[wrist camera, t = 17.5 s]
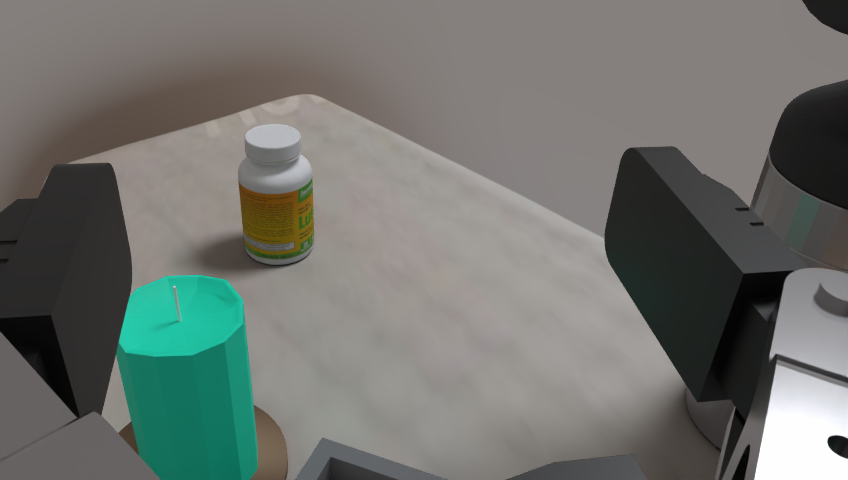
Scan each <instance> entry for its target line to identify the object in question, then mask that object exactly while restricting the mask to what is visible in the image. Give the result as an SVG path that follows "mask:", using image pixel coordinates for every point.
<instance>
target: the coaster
mask: <svg viewBox="0 0 848 480" xmlns="http://www.w3.org/2000/svg"><path fill="white" fill-rule="evenodd" d="M254 415H255V425H256V435H257V445H258V469H257V470H256V472H255V473H254V475H253V476H252V478H251V479H250V480H286V477H287V470H288V459H287V448H286V442H285V439H284V436H283V434H282V432H281V430H280V428H279V426H278V425H277V424H276V422H275V421H274V420H273V419H272V418H271V417H270V416H269V415H268V414H267V413H265V412H264V411H263V410H261V409H260V408H258V407H256V406H254ZM118 434H119V435H120V436H121V437H122V438H123V439H124V440H125V441H126V442H127V444H128V445H129V446H130V447H131V448H132V449H133V450H134V451H135V452H136V453H137V454H138V455H139V452H138V447H137V443H136V439H135V434H134V430H133V425H132V422H130V423H129V424H128V425H127V426H125V427H124V428H123V429H122V430H121V431H120V432H119V433H118Z"/></svg>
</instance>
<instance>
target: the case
mask: <svg viewBox="0 0 848 480" xmlns="http://www.w3.org/2000/svg"><path fill="white" fill-rule="evenodd" d="M331 479H334V480H447V479H444V478H441V477H438V476H435V475H432V474H429V473H426V472H423V471H420V470H417V469H414V468H411V467H408V466H405V465H402V464H399V463H396V462H393V461H390V460H387V459H384V458H381V457H379V456H376V455H373V454H370V453H367V452H364V451H361V450H358V449H355V448H352V447H349V446H346V445H343V444H340V443H337V442H334V441H331V440H328V439H325V438H322V439H321V440H320V442H319V444H318V445H317V447H316V448H315V450H314V451H313V453H312V455H311V456H310V458H309V459H308V461H307V462H306V464H305V466H304V467H303V469H302V470H301V472H300V474H299V475H298V477H297V478H296V480H331Z"/></svg>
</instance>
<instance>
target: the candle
mask: <svg viewBox="0 0 848 480" xmlns="http://www.w3.org/2000/svg"><path fill="white" fill-rule="evenodd" d="M116 356H117V360H118V365H119V369H120V373H121V378H122V382H123V386H124V391H125V395H126V399H127V404H128V408H129V412H130V417H131V421H132V425H133V430H134V434H135V439H136V443H137V447H138V452H139V456H140V458H141V459H142V460H143V461H144V462H145V463H146V464H147V465H148V466H149V467H150V468H151V469H152V471H153V472H154V473H155V474H156V475H157V476H158V477H159V478H160V479H161V480H250V479H251V478H252V476H253V475H254V473H255V472H256V470H257V469H258V445H257V435H256V425H255V415H254V405H253V395H252V385H251V375H250V365H249V355H248V345H247V335H246V325H245V315H244V305H243V299H242V298H241V297H240V296H239V294H238V293H237V292H236V291H235V289H234V288H233V287H232V286H231V285H230V283H229V282H228V281H227V280H225V279H219V278H214V277H208V276H203V275H184V276H166V277H163V278H161V279H159V280H156V281H154V282H152V283H149V284H147V285H145V286H142V287H140V288H137V289H136V290H135V291H134V293H133V294H132V295H131V296H130V298H129V301H128V305H127V309H126V313H125V317H124V322H123V326H122V330H121V334H120V339H119V343H118V347H117V351H116Z"/></svg>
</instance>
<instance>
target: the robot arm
mask: <svg viewBox="0 0 848 480" xmlns="http://www.w3.org/2000/svg"><path fill="white" fill-rule="evenodd" d="M802 1H803V2H804V4H805V5H806V7H807V9H808V10H809V11H810V13H811V14H813V15H814V16H815V17H816V18H817V19H818V20H819V21H820V22H821V23H823V24H825V25H827V26H829V27H831V28H833V29H834V30H836V31H839V32H841V33H844V34H847V35H848V0H802ZM605 250H606V255H607V258H608V261H609V263H610V265H611V267H612V268H613V270H614V272H615V273H616V275H617V276H618V278H619V279H620V281H621V283H622V284H623V286H624V287H625V289H626V290H627V292H628V294H629V295H630V297H631V298H632V300H633V302H634V303H635V305H636V306H637V308H638V309H639V311H640V313H641V314H642V316H643V317H644V319H645V321H646V322H647V324H648V325H649V327H650V328H651V330H652V332H653V333H654V335H655V336H656V338H657V340H658V341H659V343H660V344H661V346H662V347H663V349H664V351H665V352H666V354H667V355H668V357H669V359H670V360H671V362H672V363H673V365H674V366H675V368H676V370H677V371H678V373H679V374H680V376H681V377H682V379H683V381H684V382H685V384H686V385H687V392H686V402H687V408H688V411H689V413H690V415H691V417H692V419H693V421H694V423H695V424H696V426H697V427H698V428H699V430H700V431H701V432H702V433H703V434H704V435H705V436H706V437H707V438H708V439H709V440H710V441H711V442H712V443H713V444H714V445H715V446H717V447H718V448H720V449H721V454H720V458H719V462H718V466H717V470H716V474H715V478H714V480H848V80H845V81H841V82H837V83H833V84H829V85H825V86H821V87H818V88H815V89H812V90H809V91H807V92H805V93H803V94H801V95H799V96H798V97H796V98H795V99H793V101H791V102H790V103H789V104H788V106H787V107H786V108H785V110H784V112H783V113H782V115H781V118H780V120H779V122H778V125H777V128H776V130H775V134H774V136H773V140H772V142H771V146H770V148H769V152H768V155H767V158H766V160H765V164H764V166H763V169H762V172H761V175H760V178H759V181H758V184H757V187H756V190H755V192H754V195H753V199H752V202H751V205H750V208H749V207H748V206H747V205H746V204H745V203H744V202H743V200H741V198H740V197H738V195H737V194H735V192H734V191H732V190H731V189H730V188H728V187H726V186H724V185H723V184H721V183H719V182H717V181H715V180H714V179H712V178H710V177H708V176H707V175H705V174H701V172H700V171H699V170H698V169H697V168H696V167H695V166H694V165H693V164H692V163H691V162H690V161H689V160H688V159H687V158H686V157H685V156H684V155H683V154H682V153H681V152H680V151H679V150H678V149H677V148H675V147H640V148H639V147H638V148H629V149H627V150H626V151H625V152H624V154H623V156H622V158H621V161H620V165H619V171H618V174H617V178H616V183H615V187H614V192H613V196H612V201H611V205H610V210H609V214H608V219H607V223H606V228H605ZM131 285H132V261H131V252H130V247H129V242H128V236H127V231H126V226H125V221H124V216H123V211H122V206H121V201H120V196H119V191H118V185H117V180H116V176H115V172H114V170H113V167H112V165H111V164H110V163H86V164H57V165H55V166H53V168H52V170H51V172H50V174H49V176H48V178H47V180H46V182H45V184H44V186H43V189H42V191H41V193H40V195H39V197H38V198H37V199H17V200H16V201H15V202H13V203H12V204H11V205H9V206H8V207H7V208H6V209H4V210H3V211H2V212H0V480H161V479H160V478H159V477H158V476H157V475H156V474H155V473H154V472H153V471H152V469H151V468H150V467H149V466H148V465H147V464H146V463H145V462H144V461H143V460H142V459H141V458H140V456H139V455H138V454H137V453H136V452H135V451H134V450H133V449H132V448H131V447H130V446H129V445H128V444H127V442H126V441H125V440H124V439H123V438H122V437H121V436H120V435H119V434H118V433H117V432H116V431H115V429H114V428H113V427H112V426H111V425H110V424H109V423H108V422H107V421H106V420H105V419H104V418H103V417H102V416H101V414H102V410H103V406H104V402H105V398H106V393H107V389H108V385H109V381H110V376H111V372H112V368H113V364H114V360H115V355H116V351H117V347H118V343H119V339H120V334H121V330H122V326H123V322H124V317H125V313H126V309H127V305H128V301H129V296H130V292H131ZM506 480H647V478H646V476H645V475H644V473H643V471H642V469H641V467H640V465H639V463H638V461H637V459H636V457H635V455H634V454H629V455H620V456H610V457H601V458H591V459H582V460H572V461H563V462H554V463H551V464H548V465H545V466H543V467H540V468H537V469H534V470H531V471H529V472H526V473H523V474H520V475H517V476H515V477H512V478H509V479H506Z"/></svg>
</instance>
